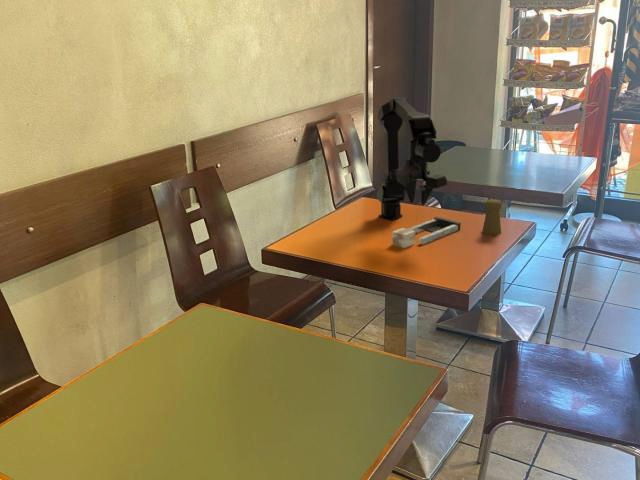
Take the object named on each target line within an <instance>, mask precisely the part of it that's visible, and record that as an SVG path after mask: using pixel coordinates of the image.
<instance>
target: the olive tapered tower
mask: <svg viewBox="0 0 640 480" xmlns="http://www.w3.org/2000/svg"><path fill="white" fill-rule="evenodd" d="M484 206H485V209H486V212H485V217H484V221H483V227H482V231H481V232H482V233H483V234H485V235H489V236H490V235H491V236H496V235H497V236H498V235H500V234H501V233H502V227H501V225H502V224H501V216H500V215H501V213H500V210H501V209H502V207H503V206H502V202H501V201H500V200H499V199H496V198H495V199H492V198H491V199H488V200H486V202H485V204H484Z"/></svg>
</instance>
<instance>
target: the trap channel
mask: <svg viewBox="0 0 640 480" xmlns="http://www.w3.org/2000/svg"><path fill="white" fill-rule="evenodd" d="M461 224H462V223H461V222H460V221H456V220H452V219H448V218H445V217H440V216H435V217H434V218H432V219H431V220H428V221H424V222H422V223H419V224H417V225H413V226H412V227H409V228H407V229H409V230H412V231H415V235H416V234H418V233H420V232H423V231H425V232H426V231H427V232H430V233H429V234H426V235H423V236H421V237H419V241H418V242H419V243H418V244H419V245H423V246H424V245H425V244H429V243H431V242H433V241H436V240H438V239H441V238H442V237H445V236H448V235H450V234H454V233H455V232H458V231H460V230H461Z"/></svg>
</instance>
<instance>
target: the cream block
mask: <svg viewBox="0 0 640 480" xmlns="http://www.w3.org/2000/svg"><path fill="white" fill-rule="evenodd" d="M415 241H416V234H415V231H412V230H409V229H408V228H404V227H401V228H399V229H396V230H394V231H392V243H391V244H392V245H393V246H395V247H399V248H401V249H406V248H409V247H411V246H414V245H415V243H416V242H415Z"/></svg>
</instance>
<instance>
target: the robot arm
mask: <svg viewBox="0 0 640 480" xmlns="http://www.w3.org/2000/svg"><path fill="white" fill-rule="evenodd" d="M377 118H378V119H377V120H378V122H379V126H380V128H381V129H382V131H383V132H384V165H385V166H384V167H385V168H384V169H385V174H384V175H383V177H382V178H381V181H380V187H379V188H378V191H377V193H376V196H377V201H379V202H380V203H381V204H380V205H381V206H380V212H381V213H380V214H378V218H383V219H385V220H390V221H392V220H393V221H394V220H395V219H398V218H401V217H403V214H401V212H402V211H401V201H402V202H403V201H404V200H405V196H406V193H407V196H408V197H407V198H408V199H409V203H410V204H411V203H414V201H415V195H416V188H417V187H416V186H417V181H418V182H422V183H423V184H422V185H419V186H418V187H419V189H420V190H421V200H420V201H421V206H425V205H426V203H427V201H428V199H429V197H430V195H431V194H432V191H434V190H433V189H439V188H442V187H444V186H447V185H448V178H447V177H446V176H445V175H442V174H440V175H439V174H434V175H431V176H429V175H430V173H431V172H430V171H429V170H428V163H430V164H431V163H435V162H436V161H438V160H439V158H440V156H441V154H442V151H441V148H440V146H439V145H438V144H436V142H435V141H436V140H435V139H437V130H436V128H435V124H434V122H433V119H432V118H431V116H430V115H429V114H428V113H425V112H419V111H417V110H416V109H415V108H414V107H413V106H412V105H411V104H410V103H409V102H408V101H407V99H406V97H405V98H404V97H393V98H390V99H389V101H388V102H386V103H384V104H383V105H381V107H380V108H379V109H378V112H377ZM403 122H404V123H405V124H404V128H405V131H406V134H407V135H408V137H407V139H408V140H409V144H408V150H409V151H408V152H409V154H408V157H409V158H408V159H406V161H405V165H404V166H402V167H400V163H399V162H400V160H399V159H400V158H399V131H400V130H401V128H402V126H403ZM399 167H400V168H399Z"/></svg>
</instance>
